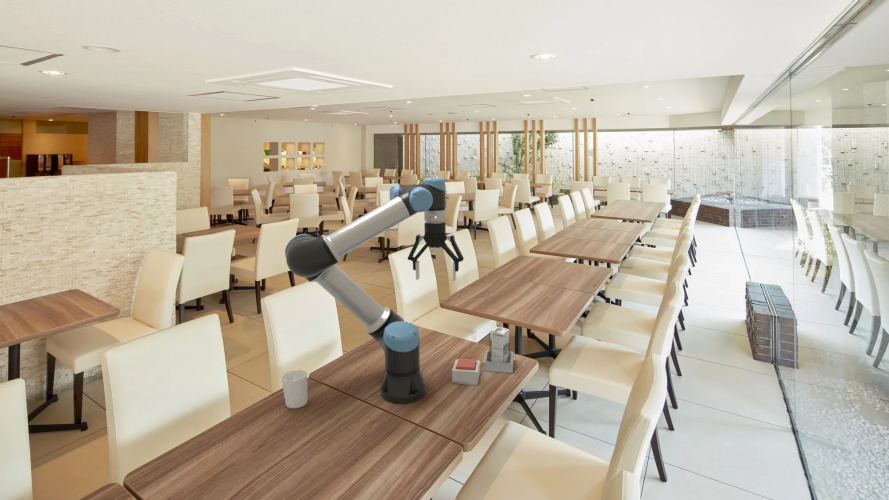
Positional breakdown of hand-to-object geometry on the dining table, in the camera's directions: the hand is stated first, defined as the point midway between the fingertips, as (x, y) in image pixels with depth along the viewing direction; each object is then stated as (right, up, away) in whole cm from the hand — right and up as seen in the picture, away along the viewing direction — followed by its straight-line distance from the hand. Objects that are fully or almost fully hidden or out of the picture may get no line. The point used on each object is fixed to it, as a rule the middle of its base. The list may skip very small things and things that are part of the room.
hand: (435, 279), depth 167 cm
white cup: (-45, -40, -17) cm, 63 cm away
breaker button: (+11, -35, -2) cm, 36 cm away
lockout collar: (+24, -33, +8) cm, 42 cm away
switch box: (+11, -36, -2) cm, 37 cm away
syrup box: (+24, -34, +8) cm, 42 cm away
